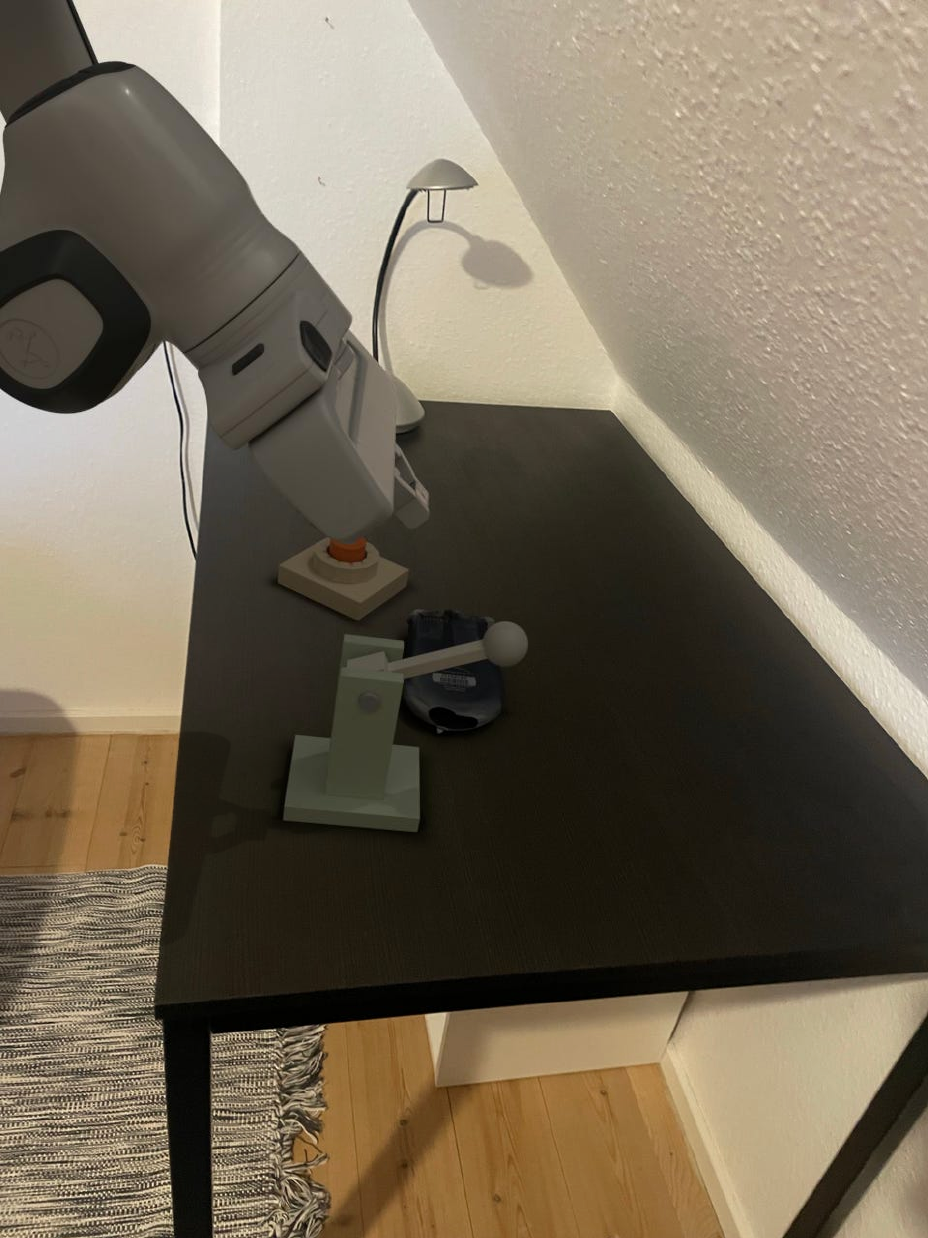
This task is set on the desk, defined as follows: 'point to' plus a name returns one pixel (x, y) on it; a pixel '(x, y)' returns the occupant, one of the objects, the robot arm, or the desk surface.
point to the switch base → (358, 753)
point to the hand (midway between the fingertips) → (421, 514)
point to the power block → (343, 579)
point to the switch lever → (455, 653)
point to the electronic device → (452, 673)
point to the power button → (348, 551)
